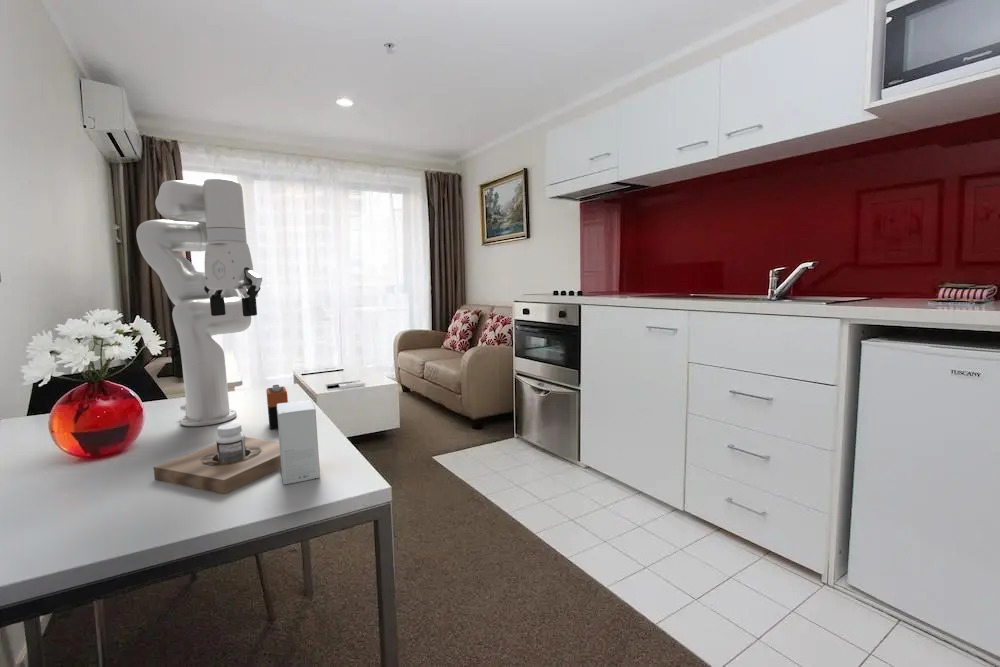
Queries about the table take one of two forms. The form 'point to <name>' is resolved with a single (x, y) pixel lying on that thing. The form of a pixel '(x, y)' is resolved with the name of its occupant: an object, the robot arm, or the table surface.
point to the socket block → (221, 467)
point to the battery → (275, 403)
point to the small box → (298, 441)
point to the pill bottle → (230, 442)
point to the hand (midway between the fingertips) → (234, 315)
